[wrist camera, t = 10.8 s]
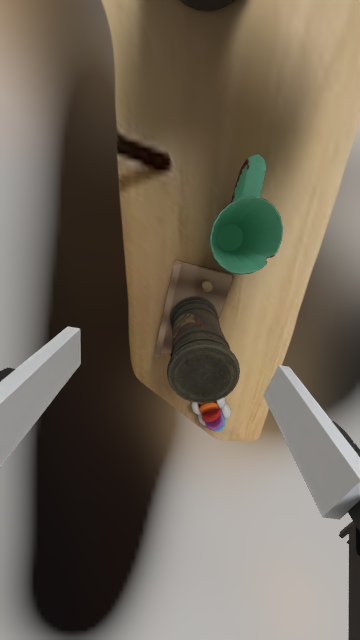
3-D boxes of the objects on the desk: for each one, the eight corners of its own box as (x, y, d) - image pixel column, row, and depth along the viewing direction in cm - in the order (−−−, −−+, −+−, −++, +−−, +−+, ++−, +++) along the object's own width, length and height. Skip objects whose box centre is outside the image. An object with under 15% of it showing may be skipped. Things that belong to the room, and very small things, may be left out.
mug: (251, 266, 38) (273, 276, 29) (200, 264, 38) (206, 272, 28) (268, 175, 32) (303, 150, 23) (209, 172, 32) (220, 145, 23)
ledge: (175, 260, 37) (174, 263, 32) (229, 273, 38) (237, 279, 33) (156, 343, 45) (153, 358, 39) (202, 353, 46) (205, 369, 40)
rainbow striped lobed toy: (218, 384, 49) (224, 407, 43) (231, 409, 53) (238, 435, 46) (188, 394, 51) (189, 418, 44) (202, 419, 54) (205, 444, 47)
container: (223, 304, 38) (258, 356, 21) (205, 342, 41) (222, 413, 24) (180, 288, 36) (180, 330, 20) (164, 329, 40) (154, 394, 23)
